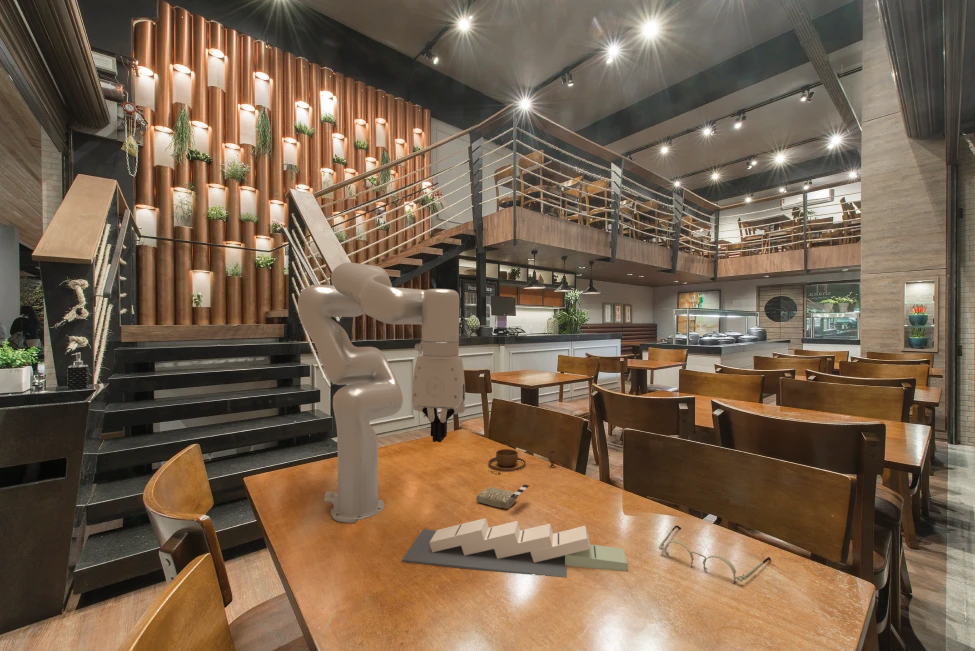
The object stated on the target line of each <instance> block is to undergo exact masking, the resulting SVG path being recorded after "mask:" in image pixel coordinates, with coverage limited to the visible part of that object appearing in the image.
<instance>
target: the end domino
mask: <svg viewBox="0 0 975 651" xmlns="http://www.w3.org/2000/svg"><path fill="white" fill-rule="evenodd" d="M590 547H591V549H588V550H584V551H580V552H576V553H572V554H568V555H565V566H567V567H573V568H586V569H587V568H588V569H598V570H609V571H619V572H620V571H623V572H627V571H628V562H627V558H626V553H625V549H624V548H621V547H613V546H605V545H597V544H591V543H590Z"/></svg>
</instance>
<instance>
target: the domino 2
mask: <svg viewBox="0 0 975 651" xmlns="http://www.w3.org/2000/svg"><path fill="white" fill-rule="evenodd" d="M521 530H522V529H521V528H520V525H519V521H518V520H515V521H510V522H507V523H503V524H499V525H493V526H490V527H489V529H488V532H487V534H486V537H485V540H482V541H478V542H474V543H470V544H466V545H461V547H462V550H463V553H464V556H465V555H469V554H473V553H478V552H482V551H486V550H491V549H495V548H500V547H504V546H508V545H513V544H517V543H518V540H519V535H520V531H521Z"/></svg>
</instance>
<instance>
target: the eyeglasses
mask: <svg viewBox="0 0 975 651" xmlns="http://www.w3.org/2000/svg"><path fill="white" fill-rule="evenodd" d="M675 529H678V530H681V529H682V527H680V526H679V525H674V526H673V528H671V530H670V531H669V532H668V534H667V535H666V536H665V538H663V540H662V541H661V543H660V544H659V546H658V549H659V550H661V551H664V555H665V557H666V559H668V558H670V557H671V555H670V552H669V551H667V550H668V549H667V548H668V547H669V545H670V544H672V543H675V544H679V545H680V546H682V547H684V548H685V549H686V550H687V552H688V553H689V555H690V558H691V559H690V561H691V562H690V566H689V568H691V567H692V566H693V563H694V560H695V559H694V555H693V554H695V555H698V556H701V557H703V558H704V559H703V561H702V564H703V571H704V574H707V570H708V567H706V561H707V560H708V559H711V558H715V559H716V558H717V559H719V560H721V561H723V562H724V563H725V564H727V566H729V568H730V570H731V572H732V574H733V581H732V584H734V583H735V582H736V580H737V581H739V582H741V583H742V582H743V581H745V580H746V579H748V578H749V577H750V576H752V575H753V574H754V573H755V572H757V570H758V569H760V568H761V567H762V566H763V565H764V564H765V563H767V562H768V561H771V557H770V556H768V557H767V558H766V559H764V560H763V561H761V562H760V563H758V564H757V565H756V566H754V567H753V568H752V569H751V570H750V571H748V572H747V573H746V574H744V573H743V574H742V575H736V573H737V570H736V568H735V566H734V565H733V564H732V562H731V561H729V560H728V559H727V558H726V557H723V556H720V555H710V556H708V557H706V556H705V555H703V554H701V553H699V552H696V551H692V550H691V551H690V549H689V547H687V545H685V544H684V543H683V542H681V541H680V540H677V539H674V540H673V539H672V540H671V541H670V542H668V543H667V544H666V545H665V543H666V541H668V539H669V538H670V536H672V533H673V532H674V530H675Z"/></svg>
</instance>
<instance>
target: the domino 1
mask: <svg viewBox="0 0 975 651" xmlns="http://www.w3.org/2000/svg"><path fill="white" fill-rule="evenodd" d="M488 529H489V523H488V520H487V517H486V518H482V519H476V520H472V521H468V522H464V523H460V524H456V525H451V526H448V527H443V528H440V529H436V530H437V531H436V532H435V534H434V536H433V537H432V539H431V541H430V542H429V543H430V546H431V549H432V552H436V551H440V550H444V549H449V548H453V547H457V546H461V545H466V544H470V543H474V542H478V541H482V540H485V537H486V534H487V532H488Z"/></svg>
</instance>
